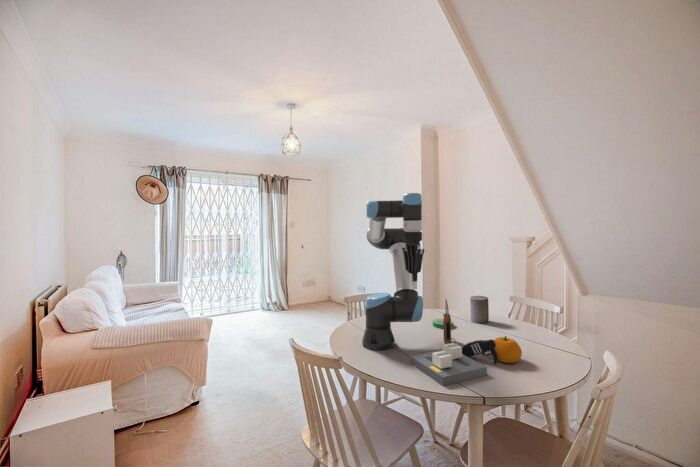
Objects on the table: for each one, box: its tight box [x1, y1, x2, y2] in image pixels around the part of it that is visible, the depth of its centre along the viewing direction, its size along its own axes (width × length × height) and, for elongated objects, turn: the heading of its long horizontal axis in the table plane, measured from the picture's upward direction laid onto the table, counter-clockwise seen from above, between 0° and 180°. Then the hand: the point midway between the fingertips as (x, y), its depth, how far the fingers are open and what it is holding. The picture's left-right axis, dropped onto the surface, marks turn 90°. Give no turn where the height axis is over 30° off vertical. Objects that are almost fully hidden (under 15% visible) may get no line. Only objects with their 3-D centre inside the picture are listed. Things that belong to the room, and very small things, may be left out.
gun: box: [461, 339, 498, 365], centre depth 131 cm, size 3×16×10 cm, turn 51°
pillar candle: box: [469, 295, 490, 325], centre depth 184 cm, size 10×10×15 cm
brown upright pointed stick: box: [442, 299, 466, 347], centre depth 150 cm, size 15×10×20 cm
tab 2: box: [442, 342, 463, 359], centre depth 127 cm, size 5×5×4 cm
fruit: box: [493, 335, 523, 364], centre depth 131 cm, size 12×12×10 cm
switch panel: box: [409, 349, 488, 387], centre depth 123 cm, size 20×20×3 cm
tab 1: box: [432, 351, 452, 369], centre depth 119 cm, size 5×5×4 cm
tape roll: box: [432, 318, 455, 330], centre depth 177 cm, size 11×11×3 cm
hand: (413, 288), depth 131 cm, fingers closed
